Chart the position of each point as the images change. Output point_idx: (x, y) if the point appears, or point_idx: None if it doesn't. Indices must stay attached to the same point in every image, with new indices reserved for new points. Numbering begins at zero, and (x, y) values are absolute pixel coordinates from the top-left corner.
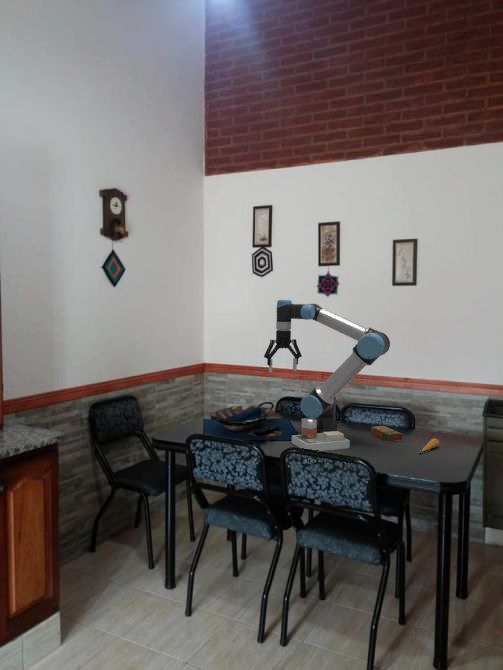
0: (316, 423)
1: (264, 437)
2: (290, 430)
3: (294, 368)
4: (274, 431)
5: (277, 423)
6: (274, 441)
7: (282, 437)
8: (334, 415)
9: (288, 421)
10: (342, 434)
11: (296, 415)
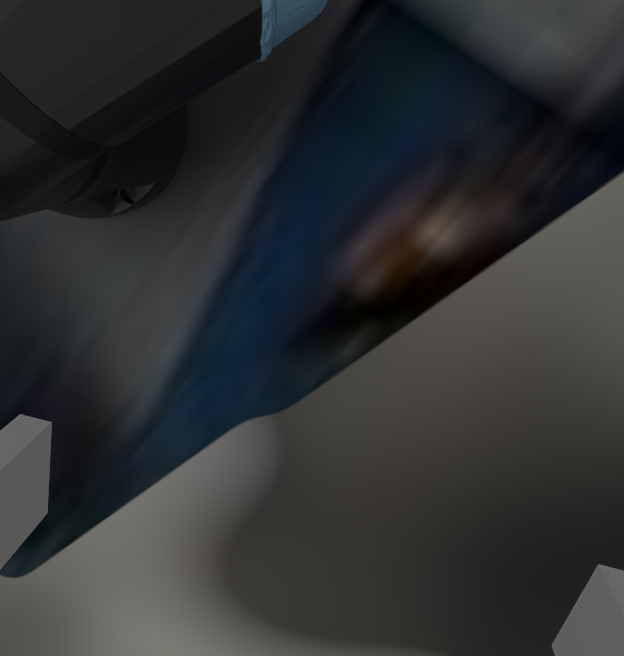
0: None
1: (536, 199)
2: (275, 248)
3: (15, 486)
4: (380, 283)
5: (245, 414)
6: (555, 74)
7: (435, 133)
8: None
9: (160, 415)
10: None
11: None
